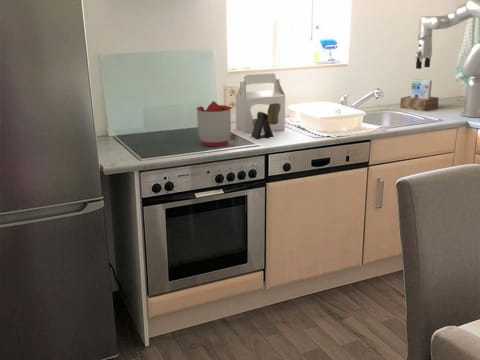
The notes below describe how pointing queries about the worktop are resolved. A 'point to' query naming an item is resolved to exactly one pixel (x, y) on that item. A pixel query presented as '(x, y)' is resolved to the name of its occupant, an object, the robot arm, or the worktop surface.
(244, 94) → the gable box
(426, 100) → the walnut stand
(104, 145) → the worktop surface
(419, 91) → the light bulb box
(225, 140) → the citrus juicer
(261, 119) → the black a-shaped stand
